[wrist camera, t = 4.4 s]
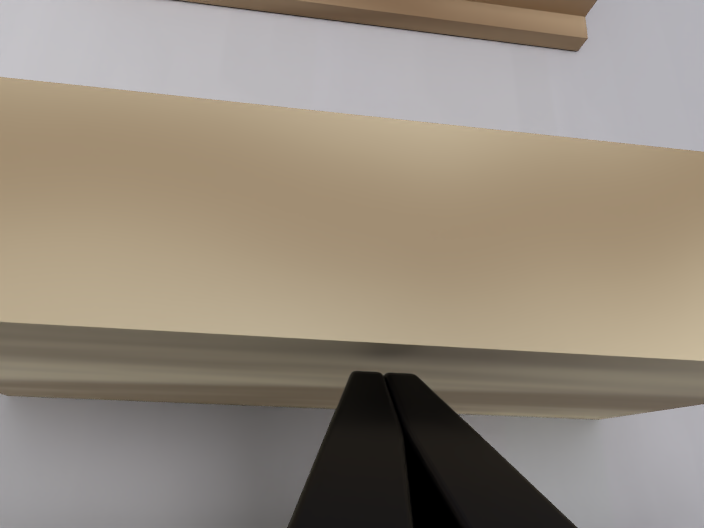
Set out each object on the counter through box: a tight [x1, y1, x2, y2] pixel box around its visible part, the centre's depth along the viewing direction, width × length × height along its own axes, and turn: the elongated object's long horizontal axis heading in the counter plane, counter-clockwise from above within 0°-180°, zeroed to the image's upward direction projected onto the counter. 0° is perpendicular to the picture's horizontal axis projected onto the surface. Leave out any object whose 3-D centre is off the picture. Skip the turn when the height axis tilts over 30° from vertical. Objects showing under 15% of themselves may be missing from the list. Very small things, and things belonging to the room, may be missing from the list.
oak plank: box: [0, 77, 704, 420], centre depth 11 cm, size 3×14×8 cm, turn 89°
